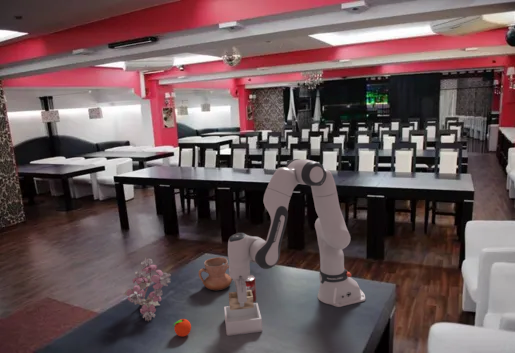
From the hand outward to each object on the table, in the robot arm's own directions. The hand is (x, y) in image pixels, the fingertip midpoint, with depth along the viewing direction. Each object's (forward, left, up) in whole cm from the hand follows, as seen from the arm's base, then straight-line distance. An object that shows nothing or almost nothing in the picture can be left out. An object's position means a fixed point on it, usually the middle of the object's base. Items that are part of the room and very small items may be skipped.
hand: (241, 301), depth 167 cm
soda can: (-5, -20, -12) cm, 24 cm away
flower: (+42, -19, -12) cm, 47 cm away
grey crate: (0, 0, -11) cm, 11 cm away
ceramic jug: (+10, -38, -12) cm, 41 cm away
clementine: (+26, +2, -12) cm, 28 cm away
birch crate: (0, 0, -2) cm, 2 cm away
